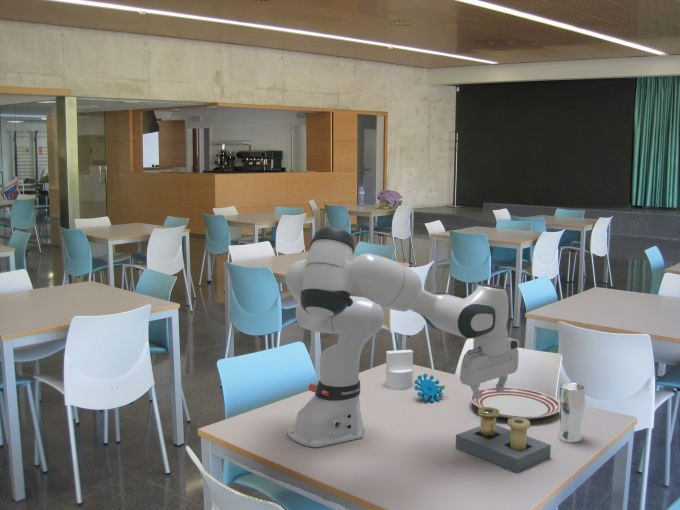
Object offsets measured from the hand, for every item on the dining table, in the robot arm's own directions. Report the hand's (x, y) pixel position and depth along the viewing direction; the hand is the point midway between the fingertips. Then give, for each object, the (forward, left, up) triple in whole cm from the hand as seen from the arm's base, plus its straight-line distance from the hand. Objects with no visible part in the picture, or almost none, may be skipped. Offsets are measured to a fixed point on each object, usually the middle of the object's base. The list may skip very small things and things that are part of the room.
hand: (488, 394), depth 189 cm
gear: (+15, +36, -15) cm, 42 cm away
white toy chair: (+17, +52, -15) cm, 56 cm away
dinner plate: (+29, +13, -15) cm, 35 cm away
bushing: (0, 0, -14) cm, 14 cm away
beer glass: (+22, -11, -15) cm, 28 cm away
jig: (0, -5, -14) cm, 15 cm away
